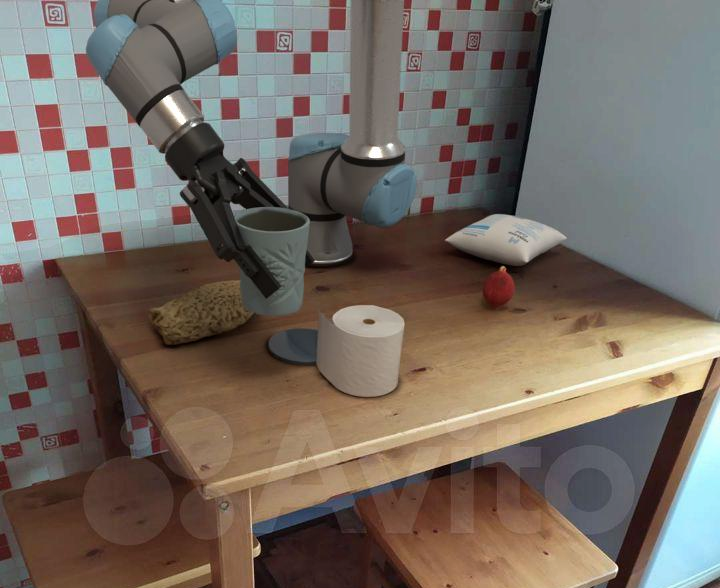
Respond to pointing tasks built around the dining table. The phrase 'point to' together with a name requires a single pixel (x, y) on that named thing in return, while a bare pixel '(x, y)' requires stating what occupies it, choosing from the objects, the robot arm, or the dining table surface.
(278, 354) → the coaster
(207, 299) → the sponge
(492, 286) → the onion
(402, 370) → the dining table surface
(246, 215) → the embossed green cup
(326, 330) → the toilet tissue
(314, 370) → the dining table surface
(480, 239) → the pouch
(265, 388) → the dining table surface
